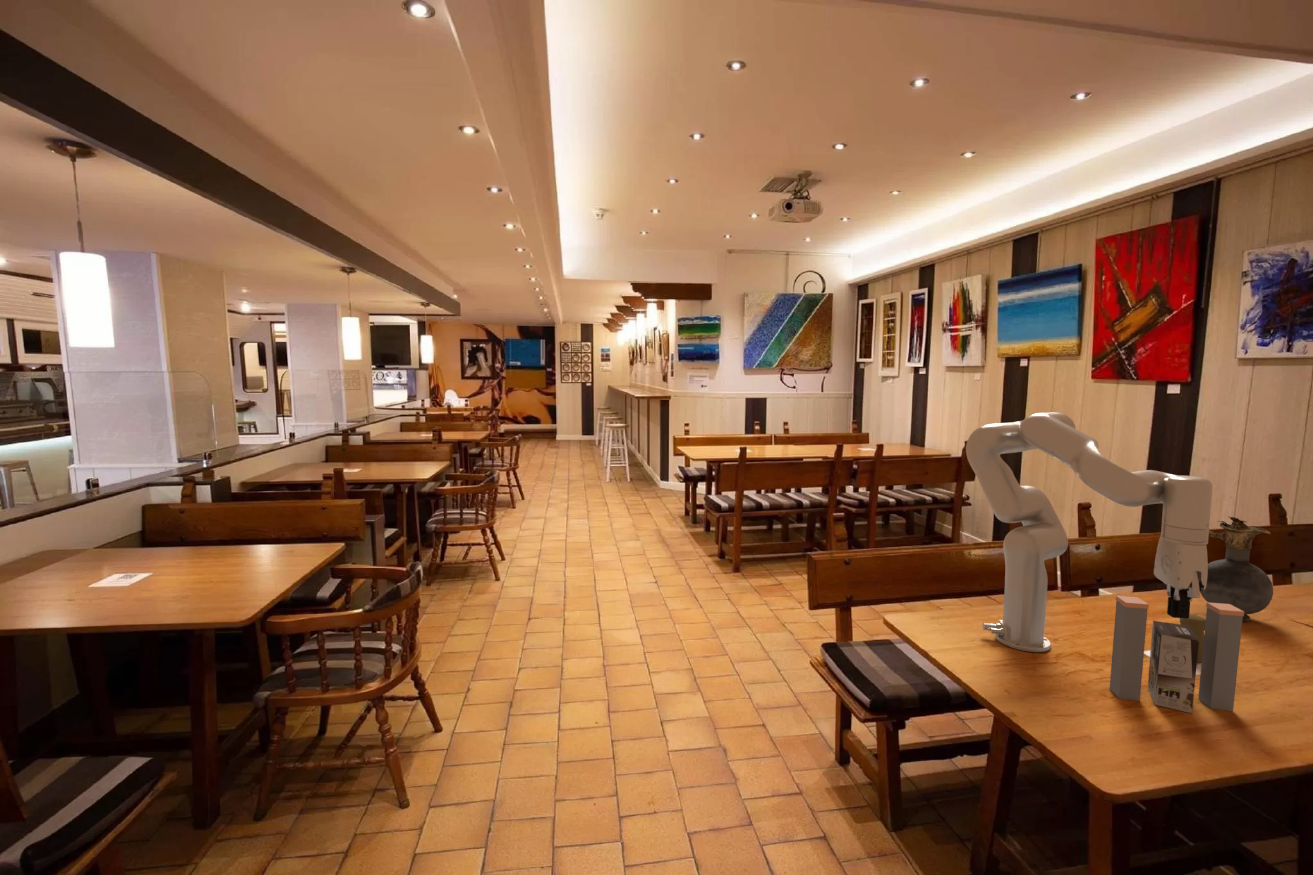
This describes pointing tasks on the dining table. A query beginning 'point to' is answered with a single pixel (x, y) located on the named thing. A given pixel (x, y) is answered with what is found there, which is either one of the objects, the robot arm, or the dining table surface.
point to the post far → (1220, 656)
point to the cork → (1196, 630)
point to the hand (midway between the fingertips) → (1177, 616)
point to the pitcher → (1238, 572)
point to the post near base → (1128, 647)
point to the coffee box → (1173, 665)
